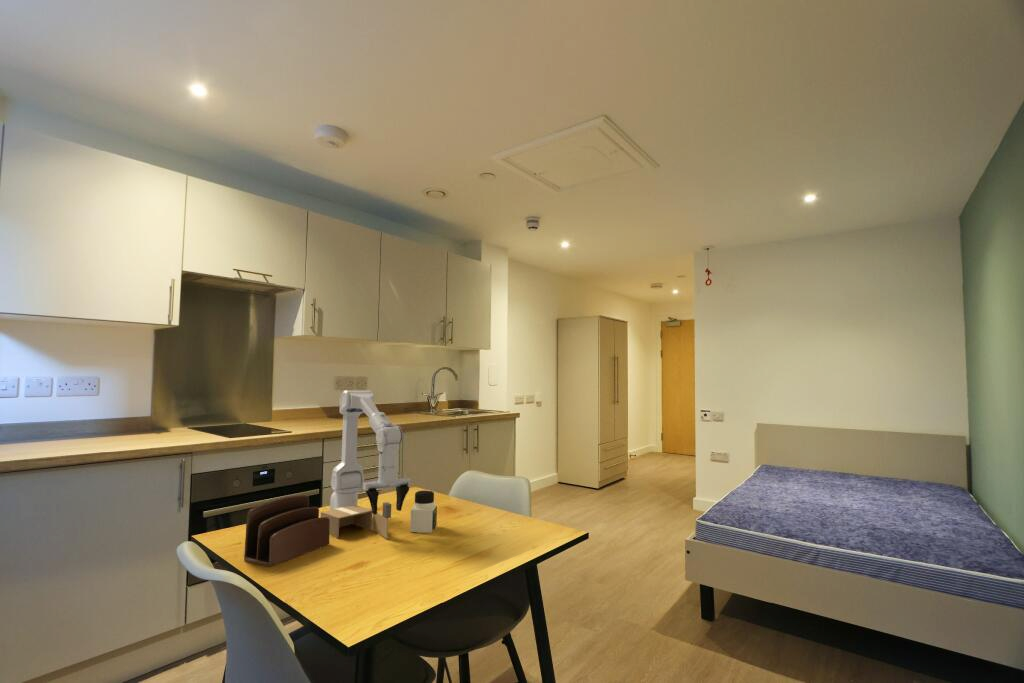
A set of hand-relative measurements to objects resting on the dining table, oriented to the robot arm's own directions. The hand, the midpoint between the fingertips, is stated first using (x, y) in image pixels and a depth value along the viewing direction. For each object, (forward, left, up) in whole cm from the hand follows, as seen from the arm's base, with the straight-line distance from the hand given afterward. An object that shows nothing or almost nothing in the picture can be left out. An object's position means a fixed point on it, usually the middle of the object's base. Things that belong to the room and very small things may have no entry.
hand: (386, 511), depth 148 cm
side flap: (-3, +1, -7) cm, 8 cm away
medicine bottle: (+2, +13, -8) cm, 15 cm away
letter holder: (-9, -25, -8) cm, 28 cm away
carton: (-15, -4, -8) cm, 17 cm away
